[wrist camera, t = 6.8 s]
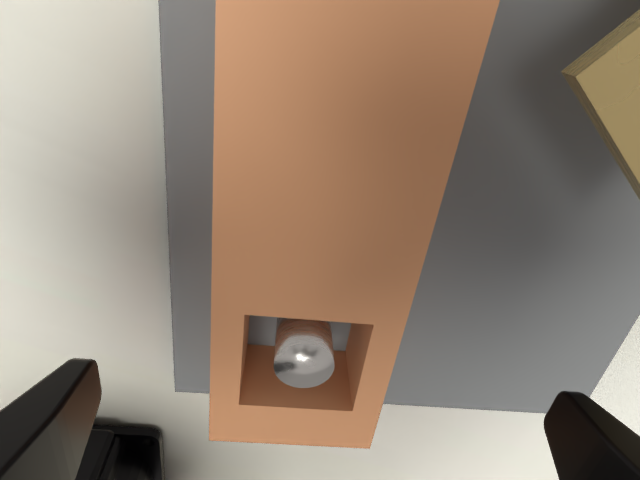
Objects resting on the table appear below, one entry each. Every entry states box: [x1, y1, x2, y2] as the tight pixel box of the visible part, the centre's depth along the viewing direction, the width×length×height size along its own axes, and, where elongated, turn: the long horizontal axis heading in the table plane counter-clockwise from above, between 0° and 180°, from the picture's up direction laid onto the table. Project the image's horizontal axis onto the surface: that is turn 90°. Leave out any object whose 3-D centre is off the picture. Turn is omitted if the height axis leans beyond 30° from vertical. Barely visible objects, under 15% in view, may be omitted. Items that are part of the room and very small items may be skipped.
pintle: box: [274, 317, 335, 388], centre depth 16 cm, size 2×2×3 cm
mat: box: [159, 0, 640, 413], centre depth 15 cm, size 21×18×1 cm
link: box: [209, 0, 500, 449], centre depth 14 cm, size 16×6×3 cm, turn 173°
